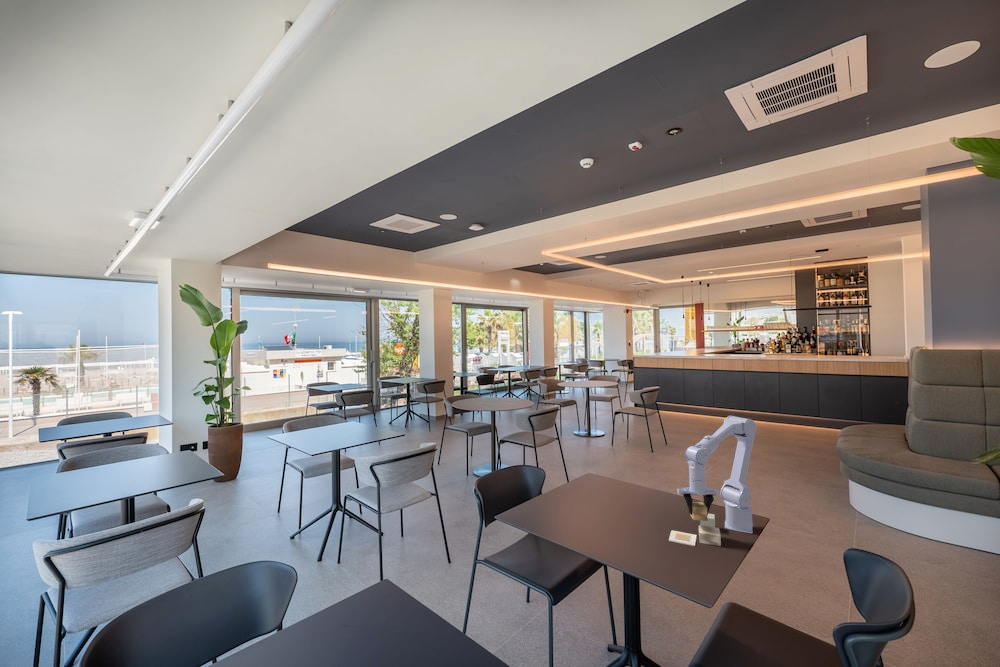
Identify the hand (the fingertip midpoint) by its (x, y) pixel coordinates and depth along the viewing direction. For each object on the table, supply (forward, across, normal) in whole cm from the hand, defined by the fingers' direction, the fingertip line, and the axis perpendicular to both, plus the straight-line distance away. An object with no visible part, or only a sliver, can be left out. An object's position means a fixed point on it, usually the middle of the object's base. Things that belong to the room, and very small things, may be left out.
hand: (698, 513), depth 158 cm
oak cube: (+1, 0, 0) cm, 1 cm away
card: (+8, +7, +3) cm, 11 cm away
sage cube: (+8, -5, -7) cm, 12 cm away
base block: (+9, -3, +3) cm, 10 cm away
